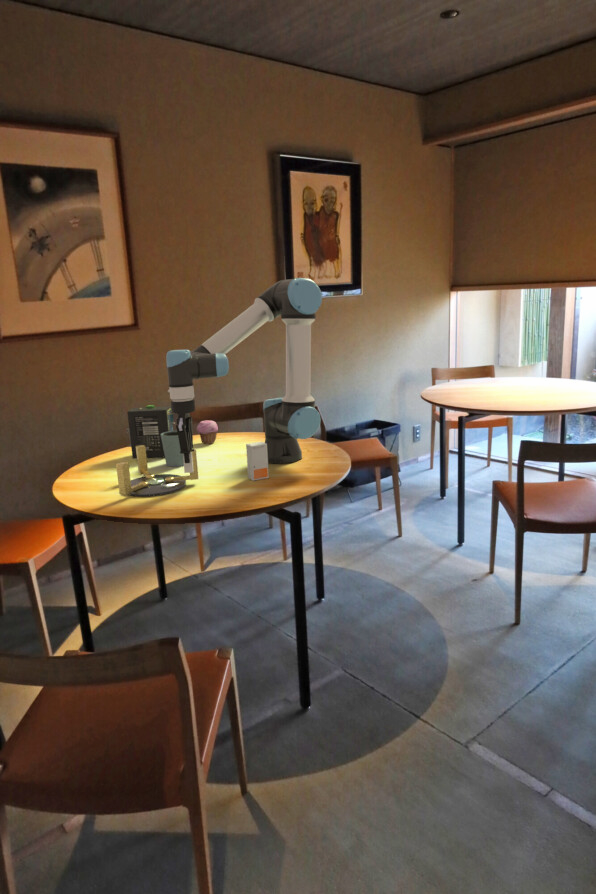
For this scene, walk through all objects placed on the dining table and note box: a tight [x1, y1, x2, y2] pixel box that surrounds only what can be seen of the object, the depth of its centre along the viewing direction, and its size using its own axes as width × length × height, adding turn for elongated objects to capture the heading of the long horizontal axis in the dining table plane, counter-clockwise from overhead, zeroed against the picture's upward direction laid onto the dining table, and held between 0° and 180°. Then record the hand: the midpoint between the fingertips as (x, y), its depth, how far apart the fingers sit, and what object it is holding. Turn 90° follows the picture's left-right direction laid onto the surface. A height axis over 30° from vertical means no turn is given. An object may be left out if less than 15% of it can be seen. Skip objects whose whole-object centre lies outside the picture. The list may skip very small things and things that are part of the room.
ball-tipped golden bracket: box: [115, 461, 148, 496], centre depth 192 cm, size 11×3×10 cm, turn 150°
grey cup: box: [161, 429, 184, 468], centre depth 228 cm, size 10×10×12 cm
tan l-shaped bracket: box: [165, 448, 199, 482], centre depth 200 cm, size 11×3×10 cm, turn 100°
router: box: [126, 404, 176, 460], centre depth 241 cm, size 8×18×20 cm, turn 89°
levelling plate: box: [127, 473, 187, 498], centre depth 200 cm, size 20×20×2 cm
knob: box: [136, 445, 155, 480], centre depth 207 cm, size 11×3×10 cm, turn 30°
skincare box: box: [245, 441, 270, 481], centre depth 204 cm, size 6×4×12 cm
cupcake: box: [196, 419, 219, 445], centre depth 260 cm, size 9×9×10 cm
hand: (189, 472), depth 196 cm, fingers closed
